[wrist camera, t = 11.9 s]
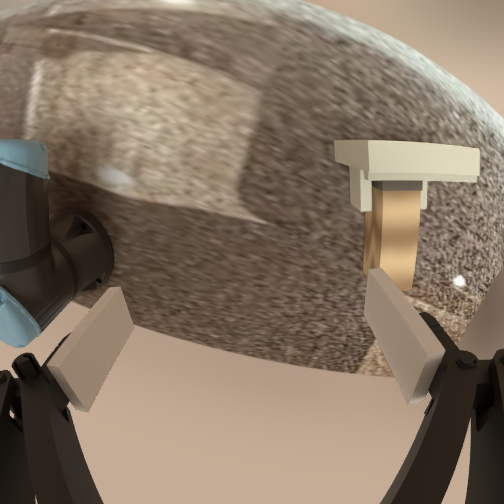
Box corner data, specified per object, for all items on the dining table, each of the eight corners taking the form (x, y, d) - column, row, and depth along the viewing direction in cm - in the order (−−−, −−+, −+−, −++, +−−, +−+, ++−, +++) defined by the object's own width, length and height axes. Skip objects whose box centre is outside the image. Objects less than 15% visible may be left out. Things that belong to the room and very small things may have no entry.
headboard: (336, 203, 39) (369, 235, 26) (333, 140, 36) (367, 140, 23) (421, 200, 38) (475, 228, 25) (421, 142, 34) (479, 149, 21)
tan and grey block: (394, 268, 42) (412, 290, 35) (361, 272, 43) (376, 294, 36) (399, 168, 36) (422, 174, 30) (363, 168, 37) (382, 174, 30)
